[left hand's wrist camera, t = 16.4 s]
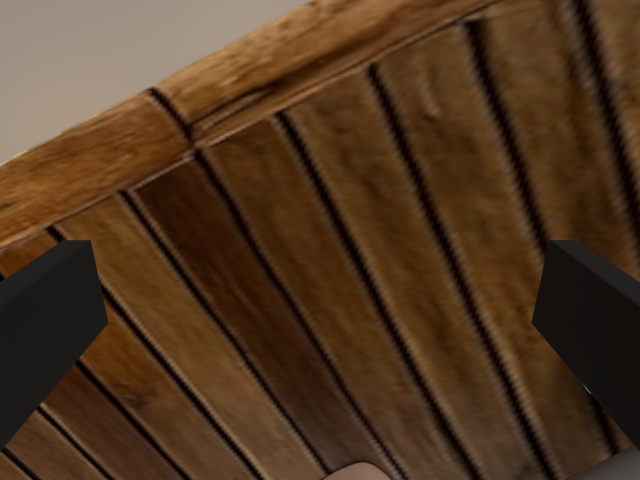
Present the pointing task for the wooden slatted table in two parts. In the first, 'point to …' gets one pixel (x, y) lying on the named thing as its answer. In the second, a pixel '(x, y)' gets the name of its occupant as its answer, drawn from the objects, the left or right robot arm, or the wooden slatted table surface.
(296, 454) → the wooden slatted table surface
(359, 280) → the wooden slatted table surface
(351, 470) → the anatomical model
